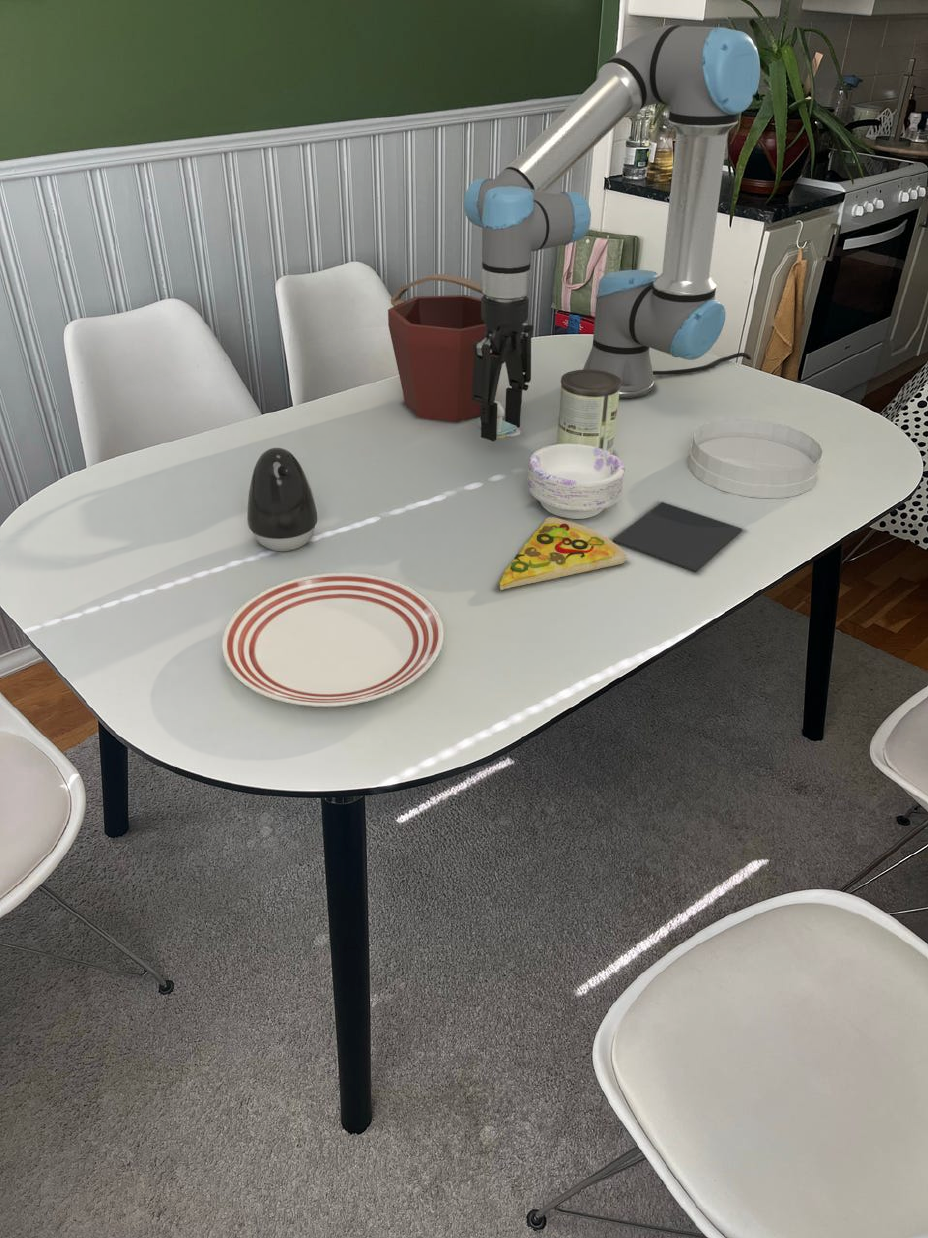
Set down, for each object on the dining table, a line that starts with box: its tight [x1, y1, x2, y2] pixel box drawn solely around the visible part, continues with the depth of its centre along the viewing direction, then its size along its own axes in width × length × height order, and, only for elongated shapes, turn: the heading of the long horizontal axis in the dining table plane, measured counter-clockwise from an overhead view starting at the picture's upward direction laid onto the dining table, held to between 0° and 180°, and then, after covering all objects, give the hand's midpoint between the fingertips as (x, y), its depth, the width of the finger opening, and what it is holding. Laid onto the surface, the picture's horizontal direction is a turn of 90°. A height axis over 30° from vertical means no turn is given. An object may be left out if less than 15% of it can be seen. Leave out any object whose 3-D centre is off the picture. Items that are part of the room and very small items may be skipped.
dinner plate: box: [221, 572, 445, 708], centre depth 119 cm, size 27×27×3 cm
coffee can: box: [556, 369, 621, 454], centre depth 166 cm, size 10×10×14 cm
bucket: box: [387, 273, 500, 423], centre depth 181 cm, size 24×22×25 cm
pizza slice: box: [499, 516, 627, 591], centre depth 137 cm, size 16×21×3 cm
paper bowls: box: [526, 443, 626, 520], centre depth 151 cm, size 15×15×8 cm
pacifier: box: [478, 400, 521, 439], centre depth 160 cm, size 7×6×6 cm
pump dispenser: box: [246, 447, 318, 552], centre depth 138 cm, size 10×10×15 cm
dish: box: [687, 418, 823, 499], centre depth 165 cm, size 22×22×5 cm
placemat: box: [612, 501, 743, 573], centre depth 146 cm, size 16×14×1 cm
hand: (500, 431), depth 162 cm, fingers closed on pacifier, 6 cm apart
